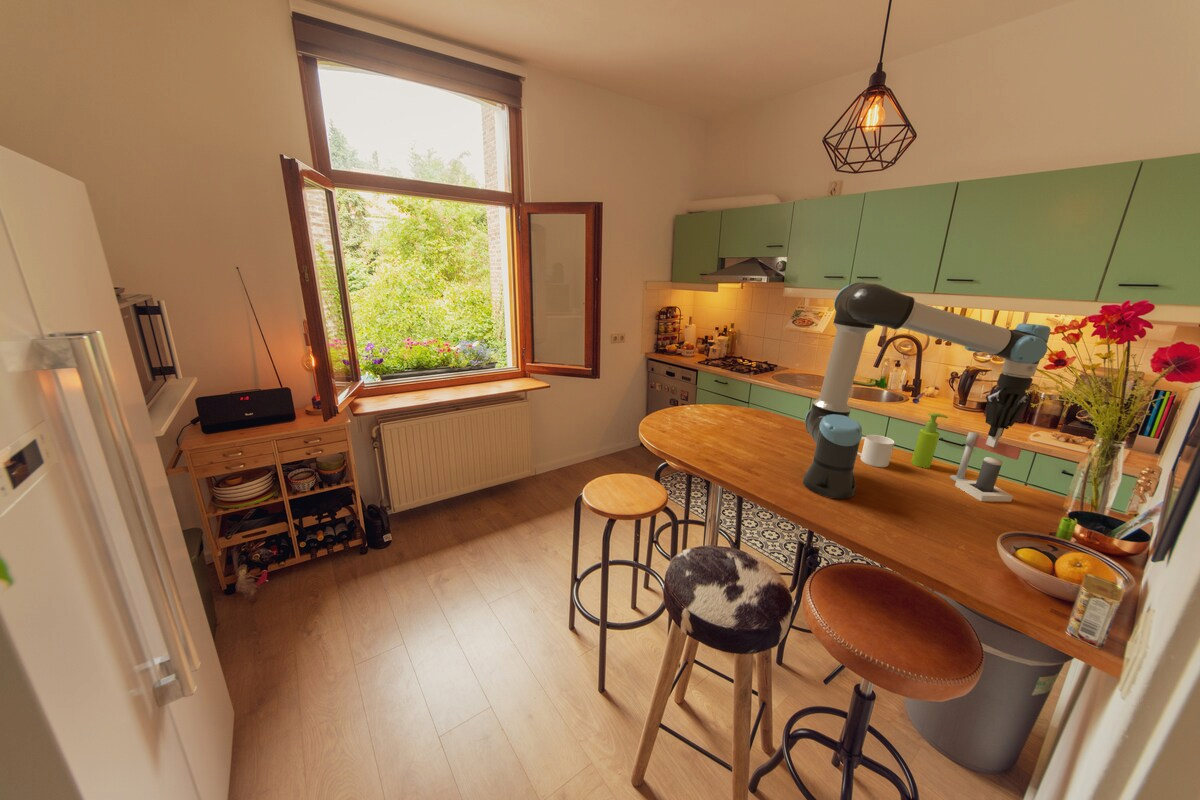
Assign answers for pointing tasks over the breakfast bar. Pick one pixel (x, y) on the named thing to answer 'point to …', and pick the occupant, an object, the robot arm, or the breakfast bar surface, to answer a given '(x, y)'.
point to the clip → (1000, 449)
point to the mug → (876, 450)
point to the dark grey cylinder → (988, 474)
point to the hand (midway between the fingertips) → (990, 445)
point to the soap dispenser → (926, 443)
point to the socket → (970, 485)
